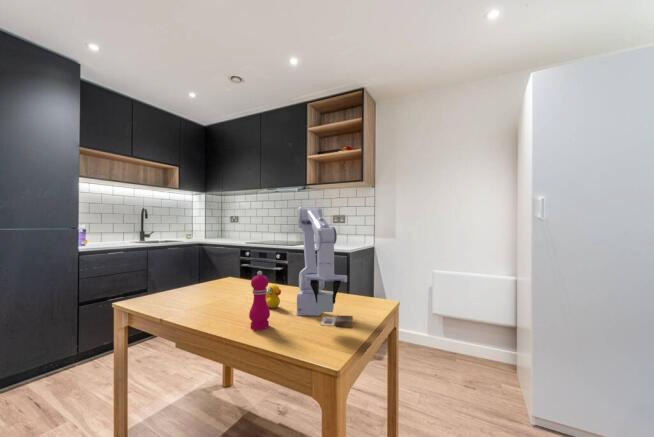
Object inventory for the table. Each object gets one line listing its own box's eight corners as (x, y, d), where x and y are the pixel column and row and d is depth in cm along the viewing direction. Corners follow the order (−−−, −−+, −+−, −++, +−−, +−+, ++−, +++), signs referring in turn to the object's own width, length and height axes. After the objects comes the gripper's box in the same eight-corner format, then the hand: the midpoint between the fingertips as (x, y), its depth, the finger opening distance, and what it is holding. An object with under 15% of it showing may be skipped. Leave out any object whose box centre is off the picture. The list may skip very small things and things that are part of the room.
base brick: (335, 326, 98) (335, 321, 98) (336, 320, 104) (336, 315, 104) (352, 327, 97) (352, 321, 97) (352, 321, 103) (352, 315, 103)
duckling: (285, 309, 117) (285, 286, 118) (274, 312, 114) (274, 288, 114) (271, 303, 126) (271, 281, 126) (260, 306, 122) (260, 283, 122)
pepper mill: (259, 332, 93) (259, 273, 93) (244, 328, 97) (244, 271, 97) (274, 325, 99) (274, 270, 99) (259, 321, 103) (259, 268, 103)
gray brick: (317, 311, 91) (317, 295, 91) (319, 306, 96) (319, 291, 96) (332, 312, 90) (332, 295, 90) (333, 307, 95) (333, 291, 95)
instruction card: (320, 325, 99) (320, 324, 99) (323, 317, 107) (323, 316, 107) (334, 325, 99) (334, 324, 99) (336, 317, 107) (336, 317, 107)
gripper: (302, 264, 90) (302, 305, 90) (346, 264, 89) (346, 306, 89) (306, 260, 97) (306, 299, 97) (347, 261, 96) (347, 300, 96)
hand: (325, 302), depth 93 cm, fingers closed on gray brick, 5 cm apart
